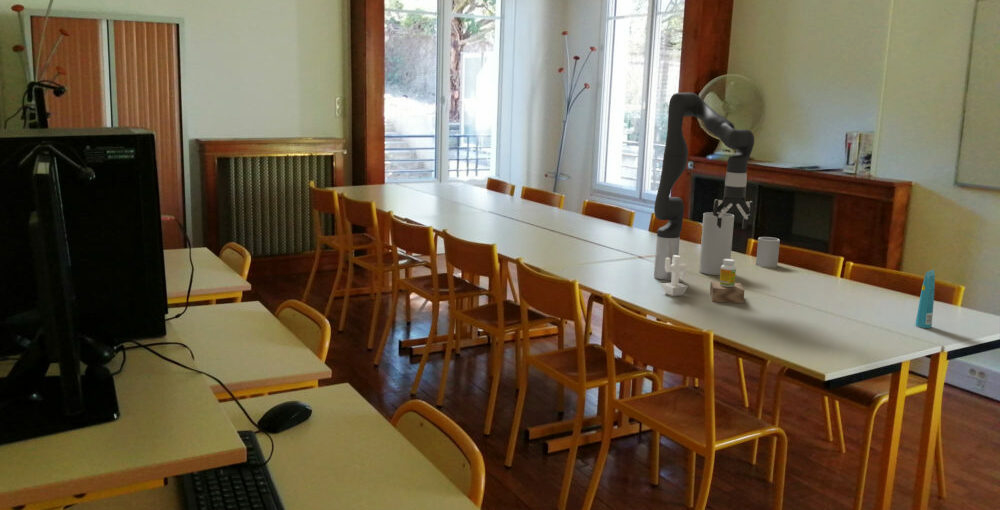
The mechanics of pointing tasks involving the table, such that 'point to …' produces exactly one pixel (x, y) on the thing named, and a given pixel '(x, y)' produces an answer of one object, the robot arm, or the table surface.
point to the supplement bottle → (728, 273)
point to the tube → (926, 301)
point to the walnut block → (726, 293)
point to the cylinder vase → (715, 243)
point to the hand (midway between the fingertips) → (731, 228)
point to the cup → (767, 252)
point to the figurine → (675, 276)
